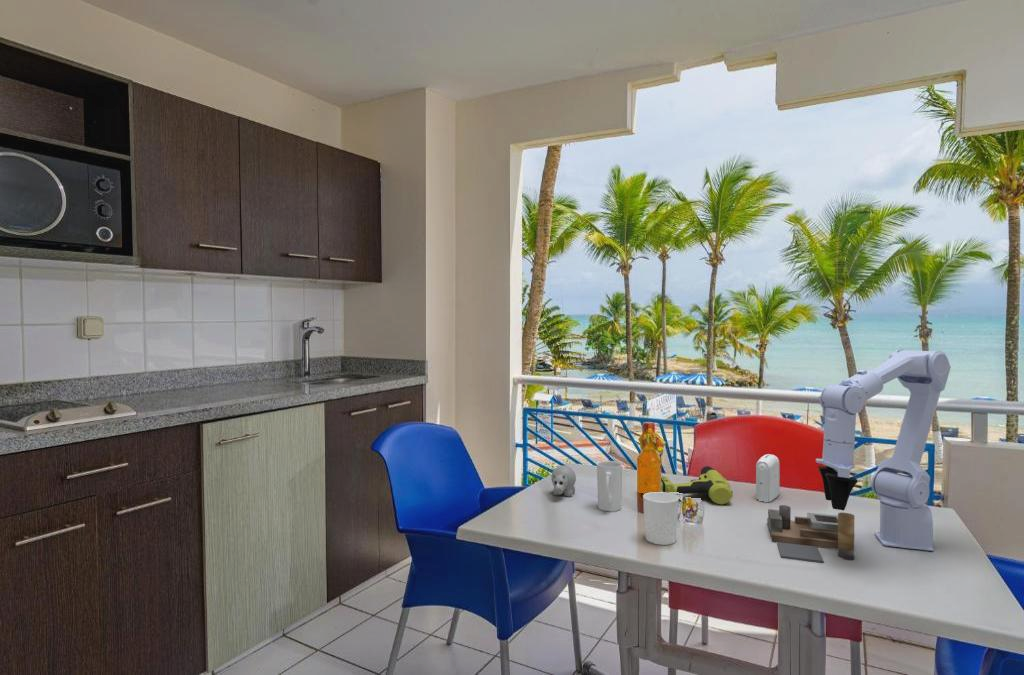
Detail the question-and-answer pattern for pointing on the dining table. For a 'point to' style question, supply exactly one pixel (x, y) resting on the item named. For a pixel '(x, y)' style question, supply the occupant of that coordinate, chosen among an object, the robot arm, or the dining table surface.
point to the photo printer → (767, 478)
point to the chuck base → (797, 530)
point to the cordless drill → (702, 486)
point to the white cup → (660, 517)
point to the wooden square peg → (846, 536)
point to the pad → (799, 552)
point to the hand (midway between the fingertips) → (834, 504)
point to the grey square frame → (822, 522)
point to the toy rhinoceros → (563, 480)
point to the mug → (609, 485)
